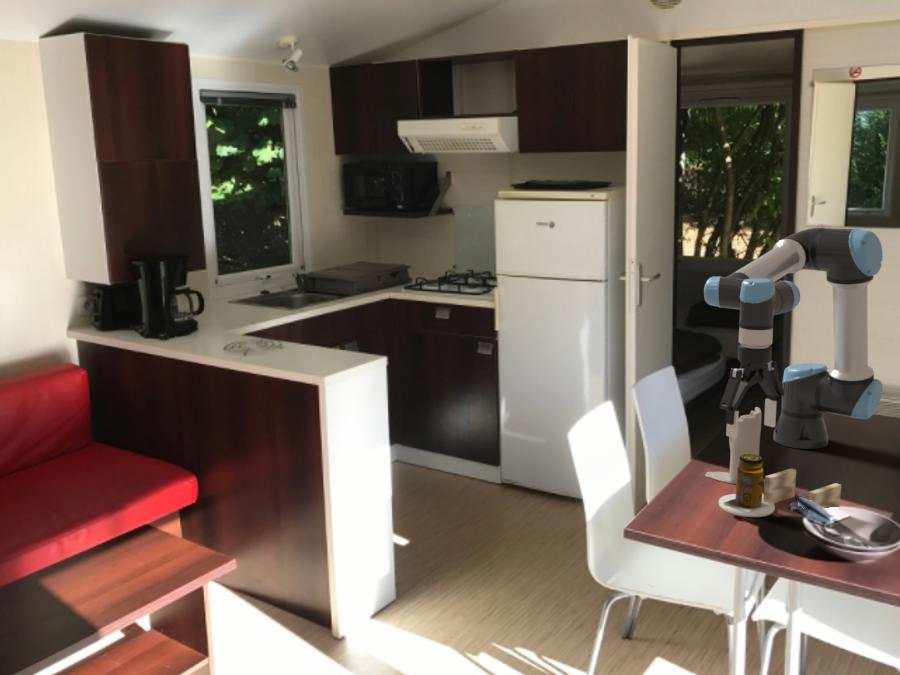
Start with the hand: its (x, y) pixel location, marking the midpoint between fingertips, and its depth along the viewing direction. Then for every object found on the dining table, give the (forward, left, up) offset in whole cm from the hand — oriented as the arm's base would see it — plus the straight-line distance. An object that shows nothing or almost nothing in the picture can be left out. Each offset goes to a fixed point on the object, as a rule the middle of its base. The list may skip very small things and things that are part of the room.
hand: (751, 431), depth 219 cm
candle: (-12, -15, -19) cm, 27 cm away
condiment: (+1, 0, -19) cm, 19 cm away
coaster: (0, 0, -19) cm, 19 cm away
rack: (-10, +8, -19) cm, 23 cm away
